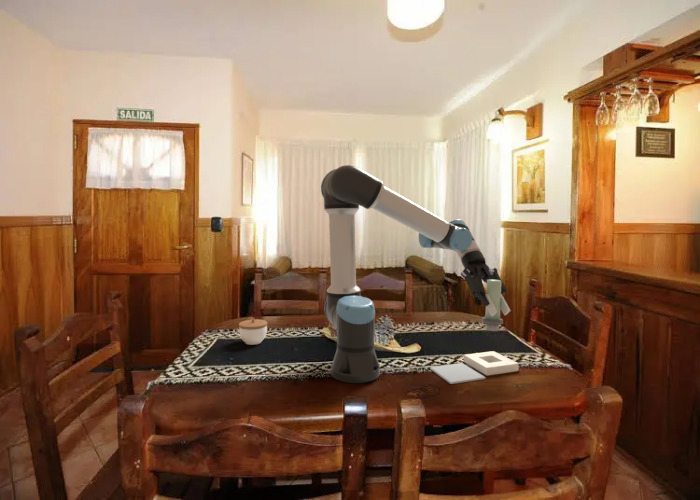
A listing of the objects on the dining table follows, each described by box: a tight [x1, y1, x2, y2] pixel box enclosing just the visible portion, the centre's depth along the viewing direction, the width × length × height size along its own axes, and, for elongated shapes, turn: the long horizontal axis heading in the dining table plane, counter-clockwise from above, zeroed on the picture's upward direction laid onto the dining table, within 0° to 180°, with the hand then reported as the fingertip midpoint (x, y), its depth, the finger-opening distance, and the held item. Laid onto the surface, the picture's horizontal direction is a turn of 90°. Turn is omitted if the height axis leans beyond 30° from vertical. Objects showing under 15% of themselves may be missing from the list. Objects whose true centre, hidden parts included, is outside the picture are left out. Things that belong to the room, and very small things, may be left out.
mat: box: [429, 362, 486, 385], centre depth 121 cm, size 12×12×1 cm
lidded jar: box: [238, 318, 268, 346], centre depth 150 cm, size 11×11×9 cm
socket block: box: [463, 350, 519, 376], centre depth 127 cm, size 12×12×2 cm
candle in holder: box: [481, 279, 504, 332], centre depth 125 cm, size 6×6×16 cm
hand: (500, 313), depth 122 cm, fingers closed on candle in holder, 4 cm apart
